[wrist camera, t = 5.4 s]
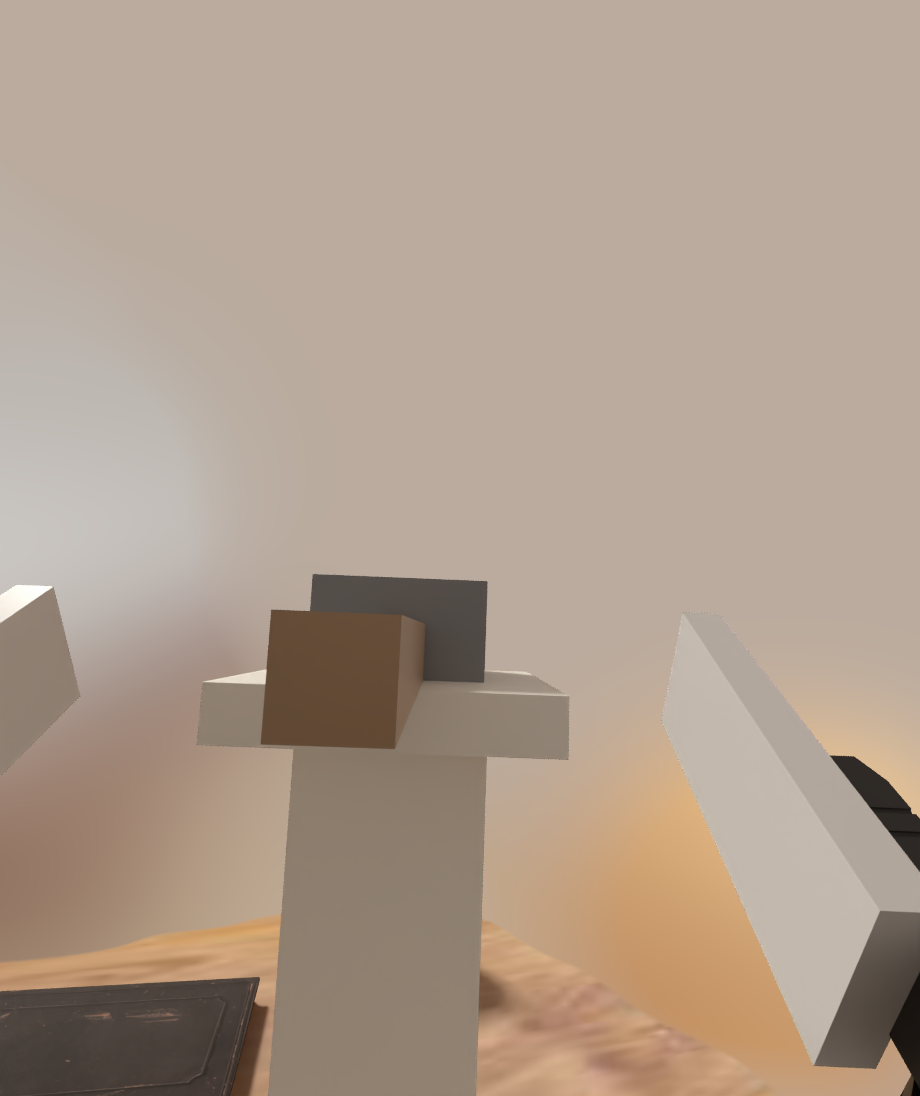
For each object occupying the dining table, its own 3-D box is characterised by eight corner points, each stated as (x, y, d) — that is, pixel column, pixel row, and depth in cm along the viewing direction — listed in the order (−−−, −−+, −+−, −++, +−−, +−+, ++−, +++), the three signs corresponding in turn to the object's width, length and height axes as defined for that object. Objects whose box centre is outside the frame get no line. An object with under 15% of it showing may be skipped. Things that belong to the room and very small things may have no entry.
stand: (552, 1878, 16) (569, 696, 20) (91, 1859, 16) (202, 681, 20) (511, 1342, 28) (527, 672, 32) (248, 1331, 28) (298, 662, 32)
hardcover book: (-43, 1024, 48) (-38, 992, 49) (257, 1005, 52) (259, 976, 53) (-229, 1212, 33) (-221, 1164, 33) (218, 1166, 37) (221, 1123, 37)
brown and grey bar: (540, 754, 10) (544, 516, 11) (112, 739, 10) (139, 499, 10) (474, 669, 32) (476, 593, 32) (339, 664, 32) (345, 588, 32)
